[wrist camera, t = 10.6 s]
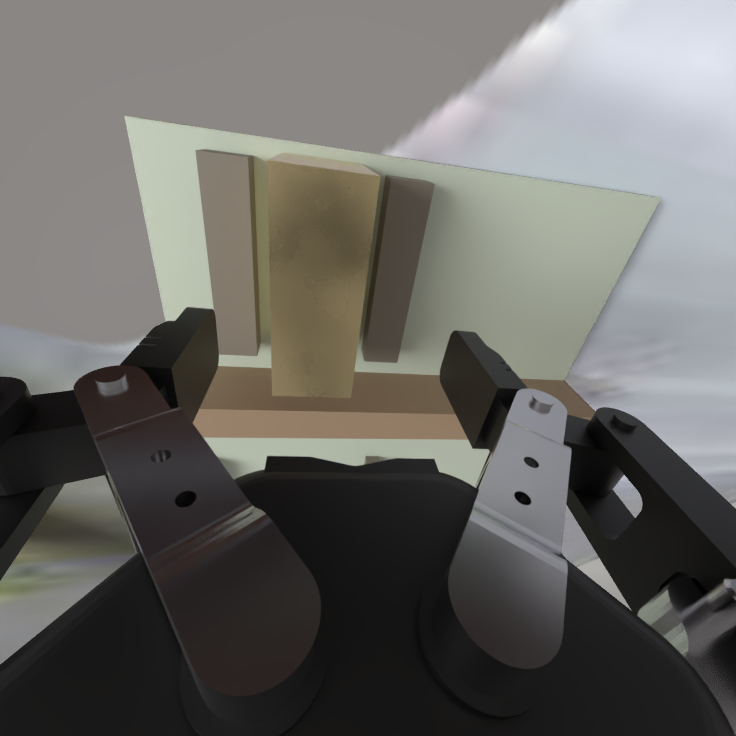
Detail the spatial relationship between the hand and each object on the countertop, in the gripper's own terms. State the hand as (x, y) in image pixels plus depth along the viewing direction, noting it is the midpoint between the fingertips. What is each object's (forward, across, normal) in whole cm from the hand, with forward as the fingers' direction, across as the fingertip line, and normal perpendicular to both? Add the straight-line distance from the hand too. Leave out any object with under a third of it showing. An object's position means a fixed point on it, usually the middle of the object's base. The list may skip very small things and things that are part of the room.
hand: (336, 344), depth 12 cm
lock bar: (+8, +1, -1) cm, 8 cm away
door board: (+9, -4, +7) cm, 12 cm away
